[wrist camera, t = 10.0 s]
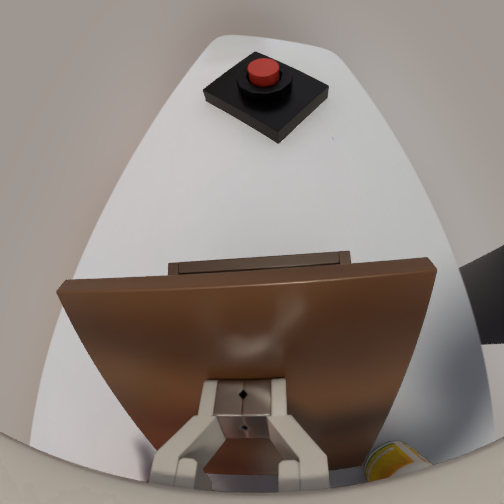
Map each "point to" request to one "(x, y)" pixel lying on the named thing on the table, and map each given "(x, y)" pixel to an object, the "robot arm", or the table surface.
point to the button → (263, 72)
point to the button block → (267, 98)
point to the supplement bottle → (393, 461)
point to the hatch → (259, 348)
